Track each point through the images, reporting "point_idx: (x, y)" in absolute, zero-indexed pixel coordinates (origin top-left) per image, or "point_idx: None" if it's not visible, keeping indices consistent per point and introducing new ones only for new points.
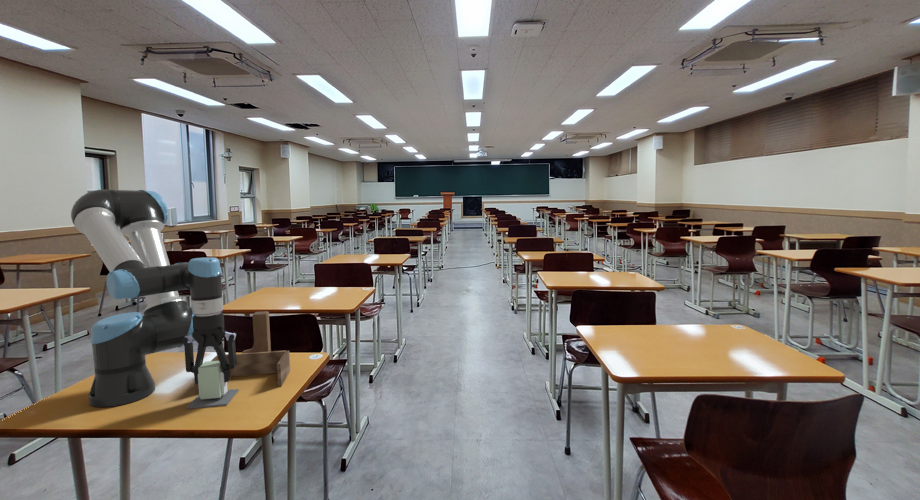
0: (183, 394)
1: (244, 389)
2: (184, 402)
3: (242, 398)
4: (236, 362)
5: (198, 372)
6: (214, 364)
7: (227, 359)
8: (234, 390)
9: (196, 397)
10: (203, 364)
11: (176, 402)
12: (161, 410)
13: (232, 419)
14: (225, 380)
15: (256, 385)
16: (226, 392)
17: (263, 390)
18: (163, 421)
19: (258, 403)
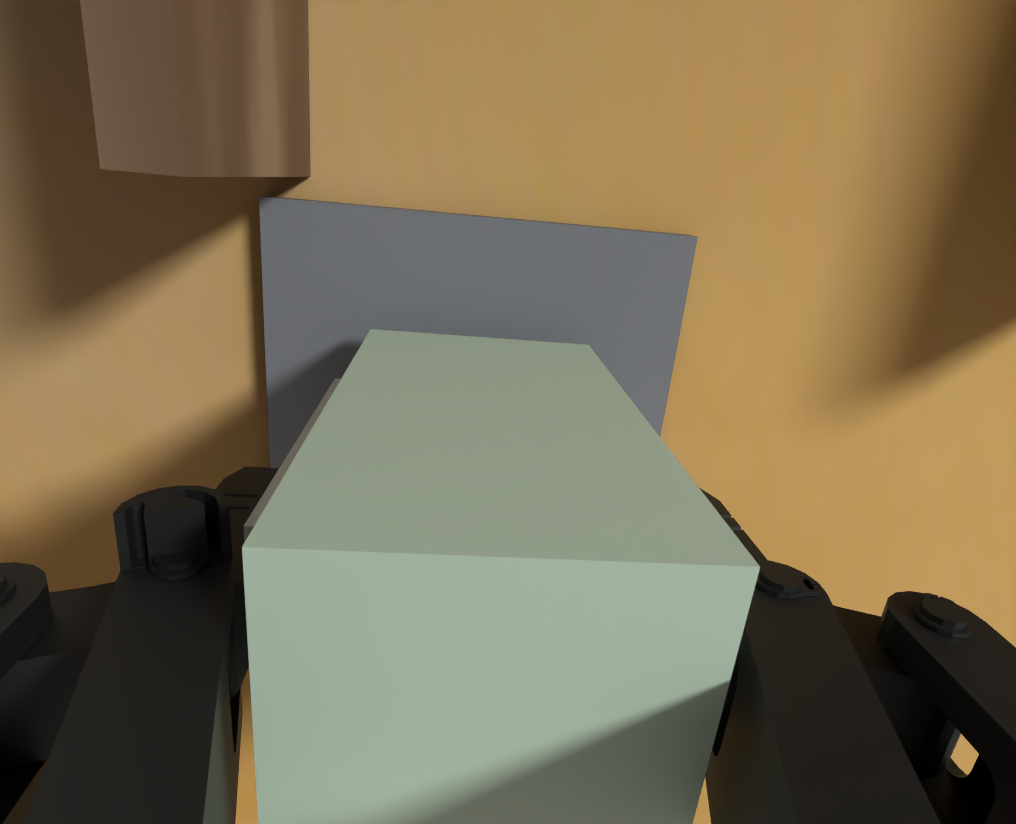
0: (22, 149)
1: (753, 216)
2: (173, 411)
3: (746, 464)
4: (1009, 657)
5: (244, 671)
6: (570, 791)
7: (884, 725)
8: (658, 275)
9: (269, 366)
10: (291, 745)
11: (77, 388)
12: (30, 544)
13: (702, 797)
14: None
15: (887, 120)
16: (577, 314)
17: (947, 314)
18: None
19: (880, 599)
